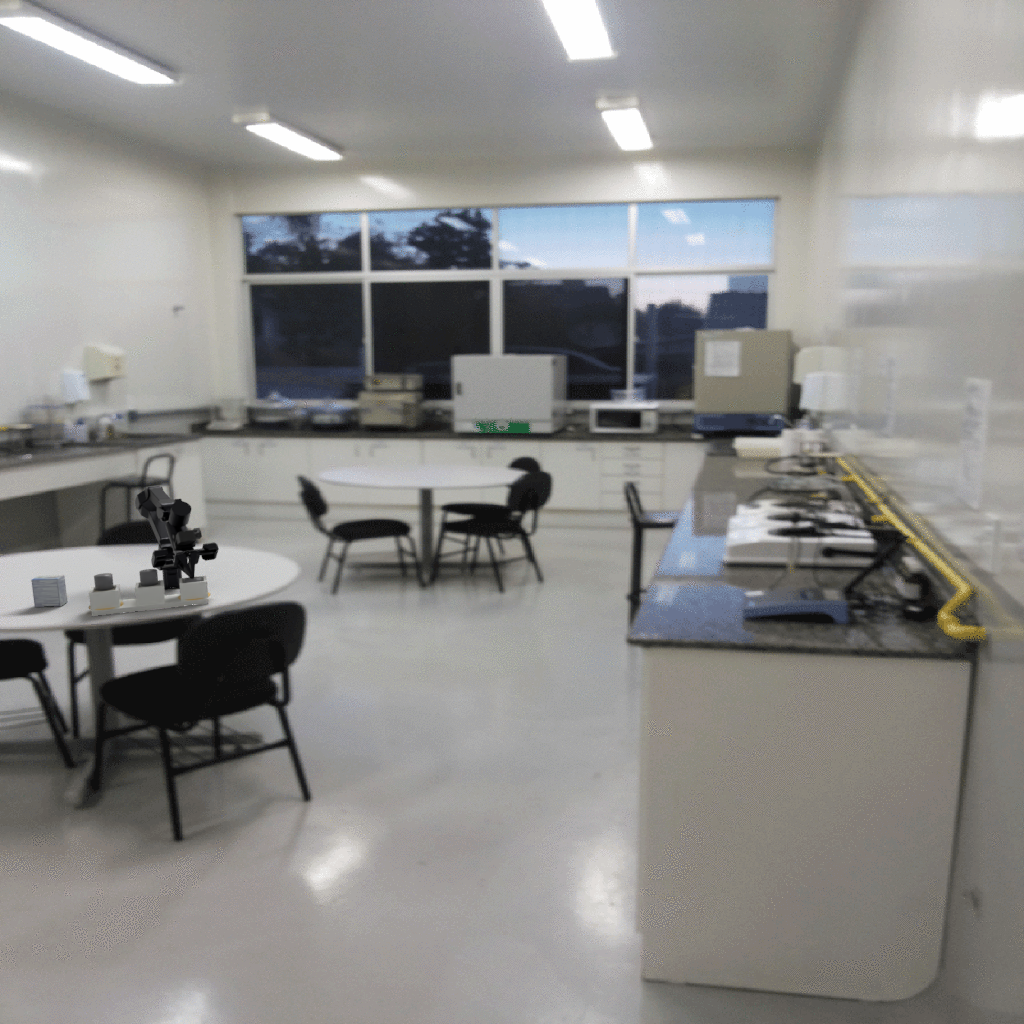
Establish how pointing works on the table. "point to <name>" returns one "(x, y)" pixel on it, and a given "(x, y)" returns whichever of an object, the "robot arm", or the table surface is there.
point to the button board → (148, 597)
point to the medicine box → (49, 590)
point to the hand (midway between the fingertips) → (192, 577)
